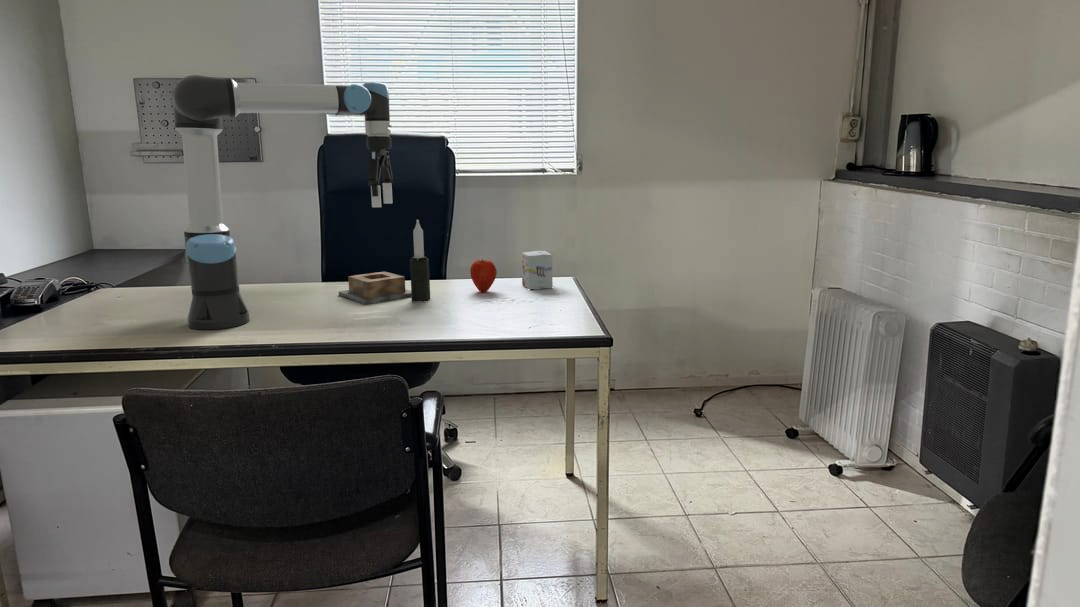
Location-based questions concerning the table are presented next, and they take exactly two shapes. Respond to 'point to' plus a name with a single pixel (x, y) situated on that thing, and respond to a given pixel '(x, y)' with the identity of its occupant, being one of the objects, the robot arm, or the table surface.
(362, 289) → the holder
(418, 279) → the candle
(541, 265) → the ink box
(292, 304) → the table surface
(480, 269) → the red strawberry
